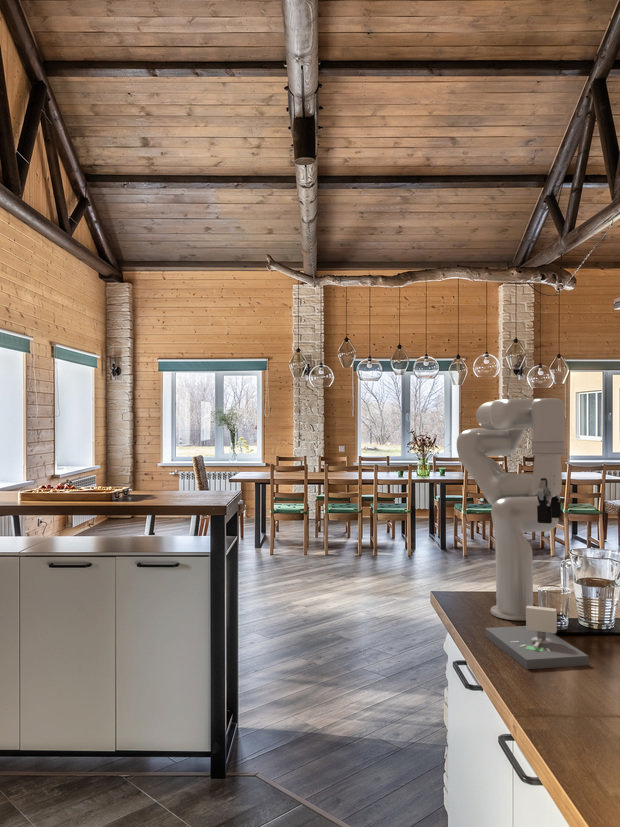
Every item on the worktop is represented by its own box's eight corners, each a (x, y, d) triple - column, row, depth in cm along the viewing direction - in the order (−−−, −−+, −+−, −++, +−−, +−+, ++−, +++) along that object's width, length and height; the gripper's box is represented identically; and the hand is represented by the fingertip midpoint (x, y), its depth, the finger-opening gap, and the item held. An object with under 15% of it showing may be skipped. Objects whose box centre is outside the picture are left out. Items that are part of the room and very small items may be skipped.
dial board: (485, 636, 163) (485, 627, 163) (539, 633, 165) (539, 624, 165) (526, 669, 141) (526, 659, 141) (588, 665, 143) (588, 655, 143)
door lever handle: (520, 646, 148) (519, 614, 148) (528, 635, 156) (527, 605, 156) (550, 650, 145) (550, 618, 145) (557, 639, 152) (556, 608, 152)
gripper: (540, 447, 171) (541, 514, 170) (523, 450, 156) (524, 524, 156) (571, 448, 167) (573, 516, 166) (556, 451, 152) (557, 526, 152)
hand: (549, 520), depth 161 cm, fingers open, 9 cm apart
